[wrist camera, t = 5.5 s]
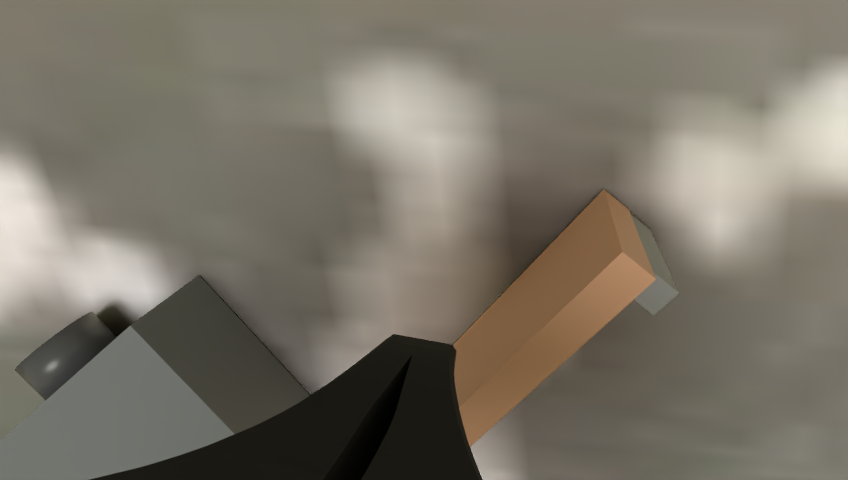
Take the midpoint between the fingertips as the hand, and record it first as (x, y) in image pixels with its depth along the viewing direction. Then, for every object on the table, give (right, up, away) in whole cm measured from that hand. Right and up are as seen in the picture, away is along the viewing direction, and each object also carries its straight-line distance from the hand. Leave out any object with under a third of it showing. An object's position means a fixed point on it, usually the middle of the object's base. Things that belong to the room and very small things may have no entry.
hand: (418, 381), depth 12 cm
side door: (+2, -1, +9) cm, 9 cm away
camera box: (-9, -5, +13) cm, 17 cm away
